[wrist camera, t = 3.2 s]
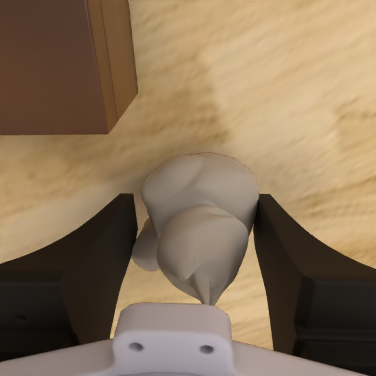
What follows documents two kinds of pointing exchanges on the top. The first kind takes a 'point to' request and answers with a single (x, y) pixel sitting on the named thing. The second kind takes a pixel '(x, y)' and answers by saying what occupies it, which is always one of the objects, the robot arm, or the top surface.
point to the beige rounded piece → (197, 222)
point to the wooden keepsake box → (65, 66)
